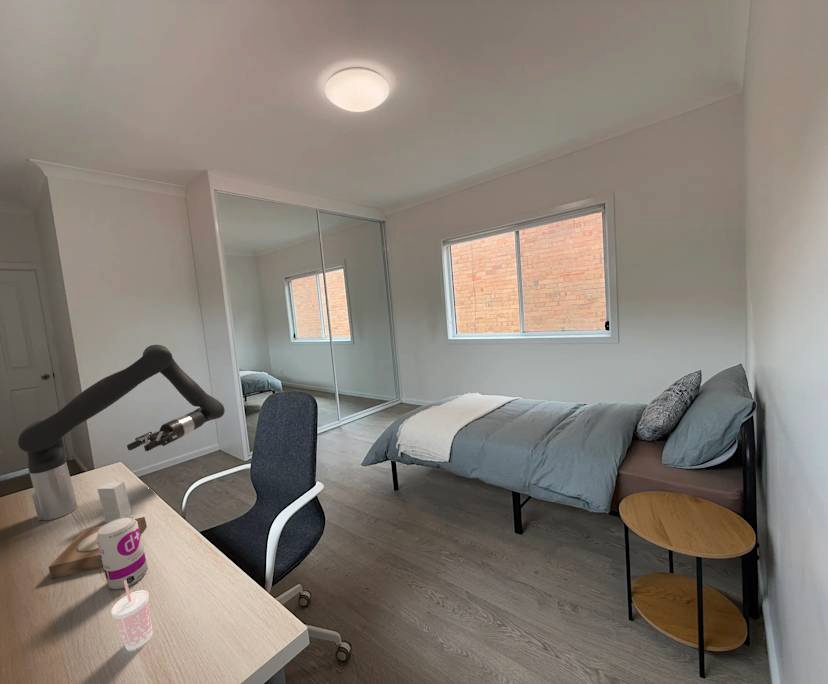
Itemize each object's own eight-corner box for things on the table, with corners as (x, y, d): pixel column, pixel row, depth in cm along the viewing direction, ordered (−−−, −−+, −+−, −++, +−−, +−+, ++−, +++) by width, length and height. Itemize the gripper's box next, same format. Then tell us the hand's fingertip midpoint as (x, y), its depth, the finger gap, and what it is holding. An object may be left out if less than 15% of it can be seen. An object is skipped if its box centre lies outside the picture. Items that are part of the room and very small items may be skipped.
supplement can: (155, 568, 98) (144, 516, 95) (122, 594, 90) (109, 538, 88) (134, 564, 100) (122, 513, 98) (100, 588, 93) (86, 533, 90)
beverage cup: (163, 625, 80) (150, 567, 78) (144, 652, 74) (129, 590, 72) (134, 628, 80) (120, 570, 78) (113, 656, 74) (97, 594, 71)
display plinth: (51, 579, 98) (48, 565, 97) (87, 540, 113) (84, 528, 112) (121, 562, 102) (118, 548, 101) (146, 527, 117) (144, 515, 116)
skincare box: (132, 514, 125) (125, 481, 123) (121, 522, 121) (113, 488, 119) (116, 514, 126) (108, 482, 124) (104, 522, 122) (96, 489, 120)
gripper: (162, 419, 147) (119, 438, 132) (189, 419, 142) (148, 438, 127) (166, 436, 148) (125, 457, 133) (193, 437, 144) (154, 458, 128)
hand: (136, 448), depth 130 cm, fingers open, 8 cm apart
